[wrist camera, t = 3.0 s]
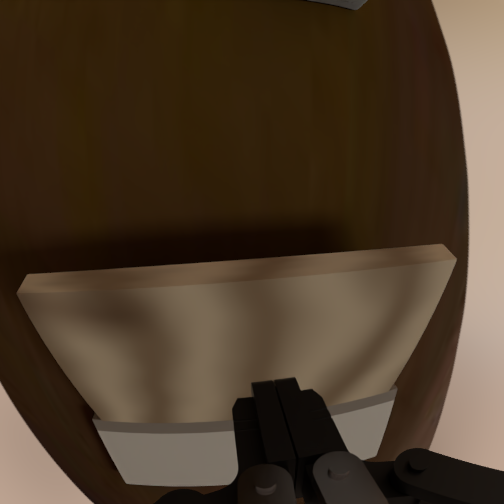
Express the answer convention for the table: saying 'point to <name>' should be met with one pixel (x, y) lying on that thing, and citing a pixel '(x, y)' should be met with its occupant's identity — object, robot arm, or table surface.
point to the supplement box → (344, 3)
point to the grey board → (222, 444)
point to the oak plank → (236, 328)
